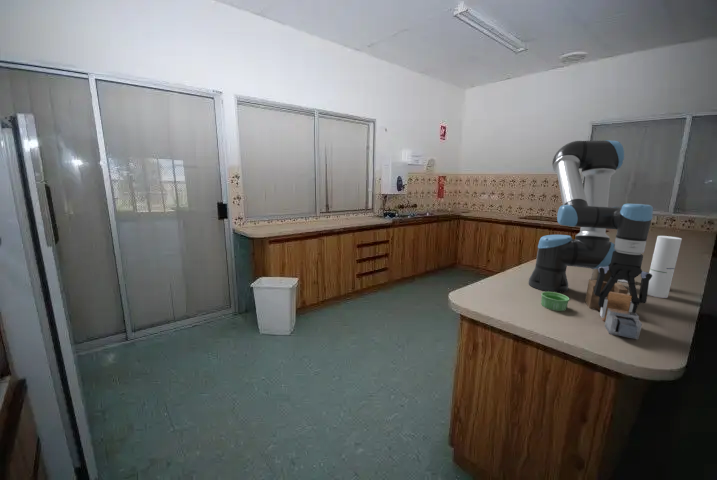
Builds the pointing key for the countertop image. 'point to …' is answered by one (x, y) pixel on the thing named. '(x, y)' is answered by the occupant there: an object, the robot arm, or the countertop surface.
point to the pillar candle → (596, 272)
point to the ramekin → (554, 301)
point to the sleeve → (612, 320)
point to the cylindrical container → (663, 265)
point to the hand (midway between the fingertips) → (614, 318)
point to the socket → (593, 299)
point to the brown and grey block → (624, 323)
